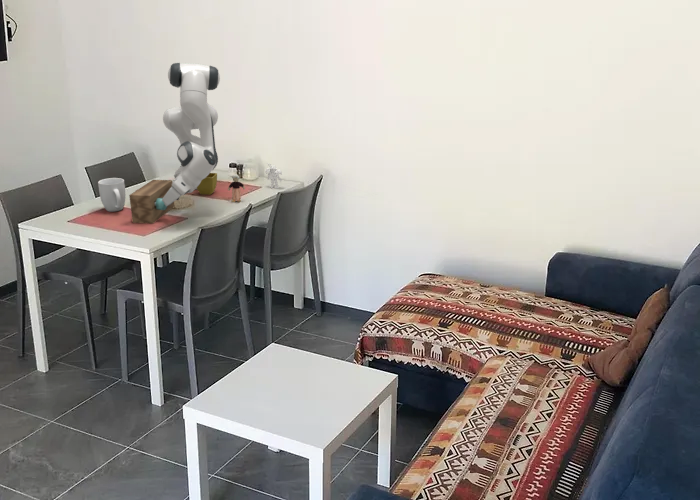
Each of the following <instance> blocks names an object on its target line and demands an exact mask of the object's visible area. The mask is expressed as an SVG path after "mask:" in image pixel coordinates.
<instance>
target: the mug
mask: <svg viewBox="0 0 700 500" xmlns="http://www.w3.org/2000/svg"><path fill="white" fill-rule="evenodd" d="M97 185H98V193H99V197H100V201H101V203H102V205H103V208H104V209H105V211H107V212H120V211H122V210H123V209H124V207H125V203H126V184H125V179H123V178H120V177H119V178H118V177H110V178H109V177H108V178H103V179H100V180H99V181H98V182H97Z"/></svg>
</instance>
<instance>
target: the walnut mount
mask: <svg viewBox="0 0 700 500" xmlns="http://www.w3.org/2000/svg"><path fill="white" fill-rule="evenodd" d="M172 181H173V180H171V179H151V180H150V181H149V182H147V183H145V184H144V185H143V186H141V187H140V188H138V189H137V190H135V191H134V192H132V193H130V194H129V203H130V204H129V205H130V211H131V212H130V214H131V220H132V223H133V224H154V223H155V221H156V222H157V221H159V219H161V218H162V217H163V216H165V214H167V213H168V212H170V211H171V210H172V209H173V208H174V207H175V205H176V204H175V201H174V202H173V203H172V204H170V205H169V206H167V208H166V210H157V209H156V206H155V204H154V202H156V200H157V198H163V197H164V196H165V195H166V193H167V192H168V191H169V189H170V188H171V187H172Z"/></svg>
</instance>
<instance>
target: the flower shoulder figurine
mask: <svg viewBox="0 0 700 500" xmlns="http://www.w3.org/2000/svg"><path fill="white" fill-rule="evenodd" d="M266 164H267V167H268V168H266V169H265V170H264V172H265V173H266V174H267V180H268V181H269V180H270V187H269V188H271V189H279V187H280V186H279V183H278V181H279V182H280V183H281V182H282V180H283V179H282V178H281V177H280V176H281V175H283V172H282V170H281V169H278V167H276V165H274V164H273V165H272V164H270V163H266Z"/></svg>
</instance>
